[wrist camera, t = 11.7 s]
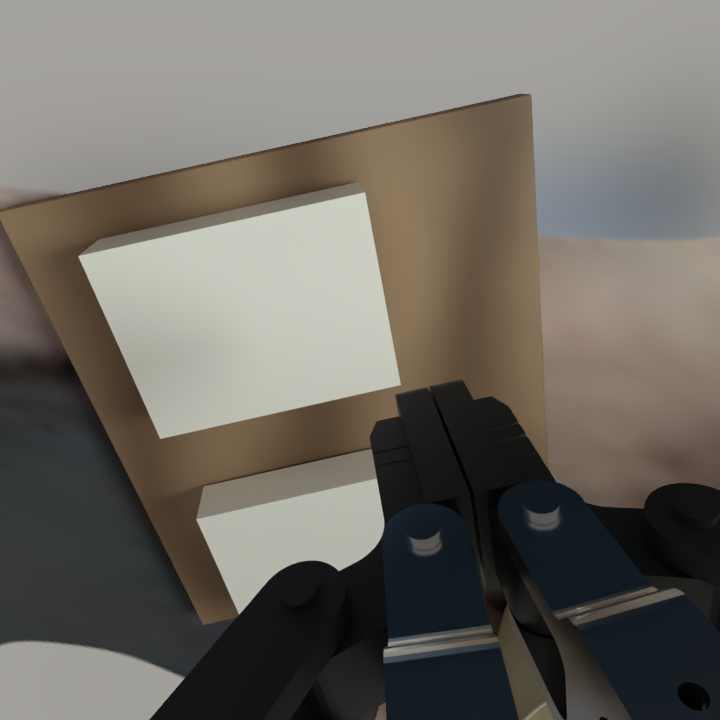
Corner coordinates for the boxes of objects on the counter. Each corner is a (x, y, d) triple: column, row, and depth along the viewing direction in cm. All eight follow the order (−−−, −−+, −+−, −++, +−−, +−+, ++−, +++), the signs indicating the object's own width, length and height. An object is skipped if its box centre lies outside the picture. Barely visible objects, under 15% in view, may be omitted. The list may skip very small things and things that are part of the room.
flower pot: (426, 631, 31) (459, 771, 25) (546, 515, 28) (620, 640, 22) (546, 681, 35) (603, 815, 28) (665, 582, 32) (759, 707, 25)
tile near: (364, 192, 17) (78, 256, 17) (401, 384, 20) (160, 439, 20) (357, 181, 19) (100, 238, 19) (391, 358, 22) (172, 408, 22)
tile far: (416, 469, 22) (196, 519, 22) (438, 587, 25) (246, 631, 25) (406, 438, 24) (204, 484, 24) (428, 552, 27) (250, 592, 27)
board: (520, 93, 19) (531, 94, 18) (542, 531, 29) (550, 546, 28) (10, 206, 19) (-4, 212, 18) (206, 608, 29) (203, 624, 28)
